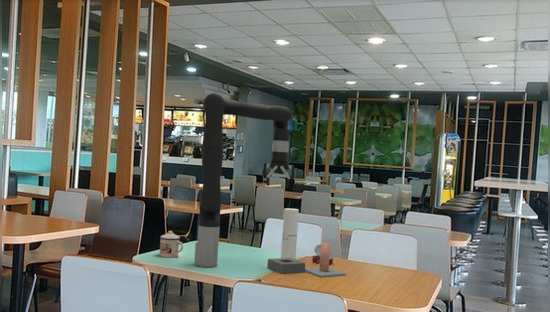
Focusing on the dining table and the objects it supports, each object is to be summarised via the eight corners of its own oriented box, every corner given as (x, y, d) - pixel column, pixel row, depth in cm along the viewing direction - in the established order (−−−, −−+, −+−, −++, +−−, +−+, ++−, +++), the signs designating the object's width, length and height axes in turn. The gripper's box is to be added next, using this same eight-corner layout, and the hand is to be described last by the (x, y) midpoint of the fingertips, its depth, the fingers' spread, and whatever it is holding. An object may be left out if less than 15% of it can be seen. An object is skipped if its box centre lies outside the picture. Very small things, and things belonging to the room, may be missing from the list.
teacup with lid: (154, 256, 235) (156, 230, 235) (166, 253, 243) (168, 229, 244) (176, 259, 230) (178, 233, 230) (187, 256, 238) (189, 232, 239)
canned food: (327, 271, 249) (337, 254, 250) (327, 273, 239) (338, 255, 240) (307, 259, 250) (317, 241, 251) (307, 260, 240) (318, 242, 241)
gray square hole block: (281, 273, 215) (282, 264, 215) (267, 268, 225) (267, 258, 225) (304, 272, 221) (305, 263, 221) (289, 266, 231) (290, 257, 231)
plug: (323, 272, 220) (324, 244, 220) (317, 270, 223) (319, 243, 223) (330, 271, 222) (332, 244, 222) (324, 269, 225) (326, 242, 226)
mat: (320, 277, 213) (320, 275, 213) (301, 270, 225) (301, 268, 225) (346, 275, 220) (346, 273, 220) (326, 268, 232) (326, 266, 232)
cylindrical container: (295, 262, 241) (299, 210, 242) (280, 261, 241) (284, 209, 242) (295, 259, 248) (298, 209, 249) (280, 258, 249) (284, 208, 249)
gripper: (264, 149, 226) (261, 186, 226) (295, 151, 225) (293, 188, 225) (265, 150, 233) (262, 185, 233) (295, 152, 233) (293, 187, 233)
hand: (277, 186), depth 229 cm, fingers open, 8 cm apart
